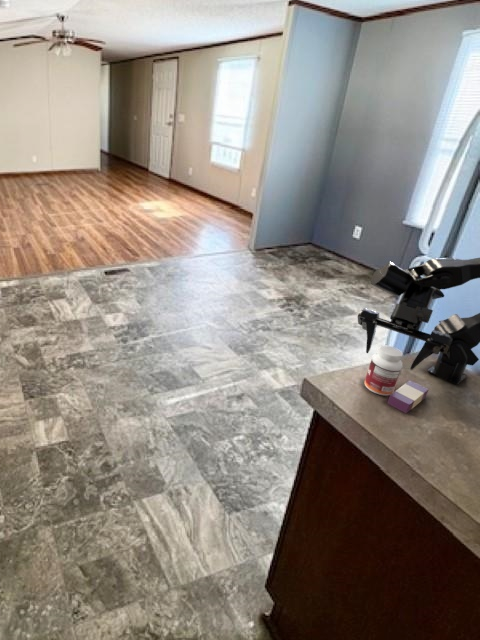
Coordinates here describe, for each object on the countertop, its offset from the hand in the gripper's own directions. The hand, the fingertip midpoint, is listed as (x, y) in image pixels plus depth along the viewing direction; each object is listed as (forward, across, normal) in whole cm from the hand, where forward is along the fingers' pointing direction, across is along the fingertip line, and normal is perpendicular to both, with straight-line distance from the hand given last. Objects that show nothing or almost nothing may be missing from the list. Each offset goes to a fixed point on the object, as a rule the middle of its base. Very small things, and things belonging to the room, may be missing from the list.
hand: (388, 360), depth 101 cm
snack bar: (+6, +6, +4) cm, 10 cm away
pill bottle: (+6, 0, +5) cm, 8 cm away
